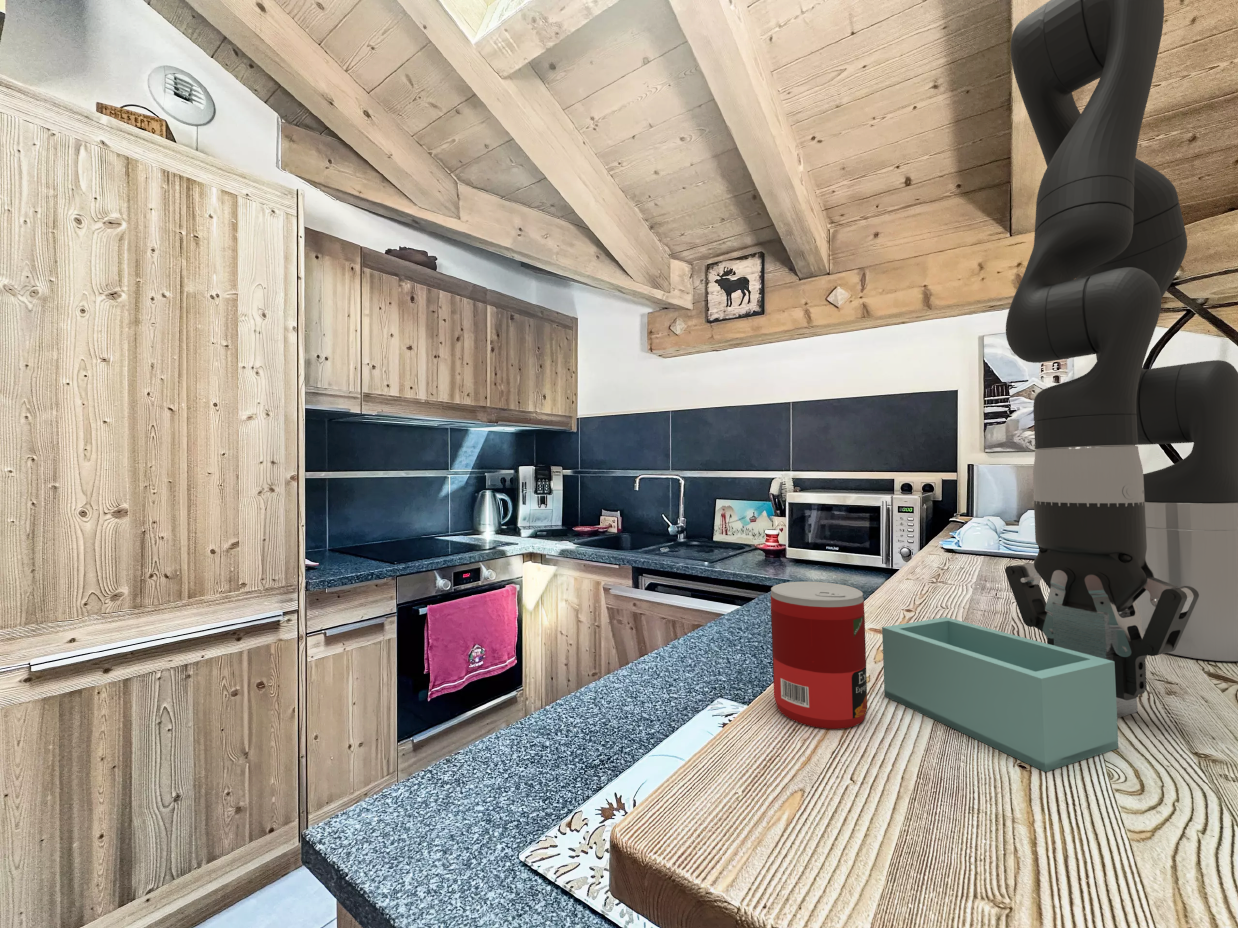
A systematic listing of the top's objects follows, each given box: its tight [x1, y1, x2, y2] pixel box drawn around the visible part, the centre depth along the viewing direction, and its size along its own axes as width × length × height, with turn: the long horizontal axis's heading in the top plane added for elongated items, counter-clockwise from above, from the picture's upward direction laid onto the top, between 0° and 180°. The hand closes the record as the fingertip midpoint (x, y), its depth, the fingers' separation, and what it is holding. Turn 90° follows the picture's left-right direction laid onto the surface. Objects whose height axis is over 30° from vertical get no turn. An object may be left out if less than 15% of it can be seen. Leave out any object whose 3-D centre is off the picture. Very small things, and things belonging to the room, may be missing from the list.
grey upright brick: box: [1052, 603, 1138, 719], centre depth 47 cm, size 4×4×9 cm
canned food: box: [770, 581, 868, 730], centre depth 48 cm, size 8×8×11 cm
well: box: [881, 616, 1119, 773], centre depth 45 cm, size 8×14×7 cm, turn 20°
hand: (1094, 686), depth 47 cm, fingers closed on grey upright brick, 4 cm apart
